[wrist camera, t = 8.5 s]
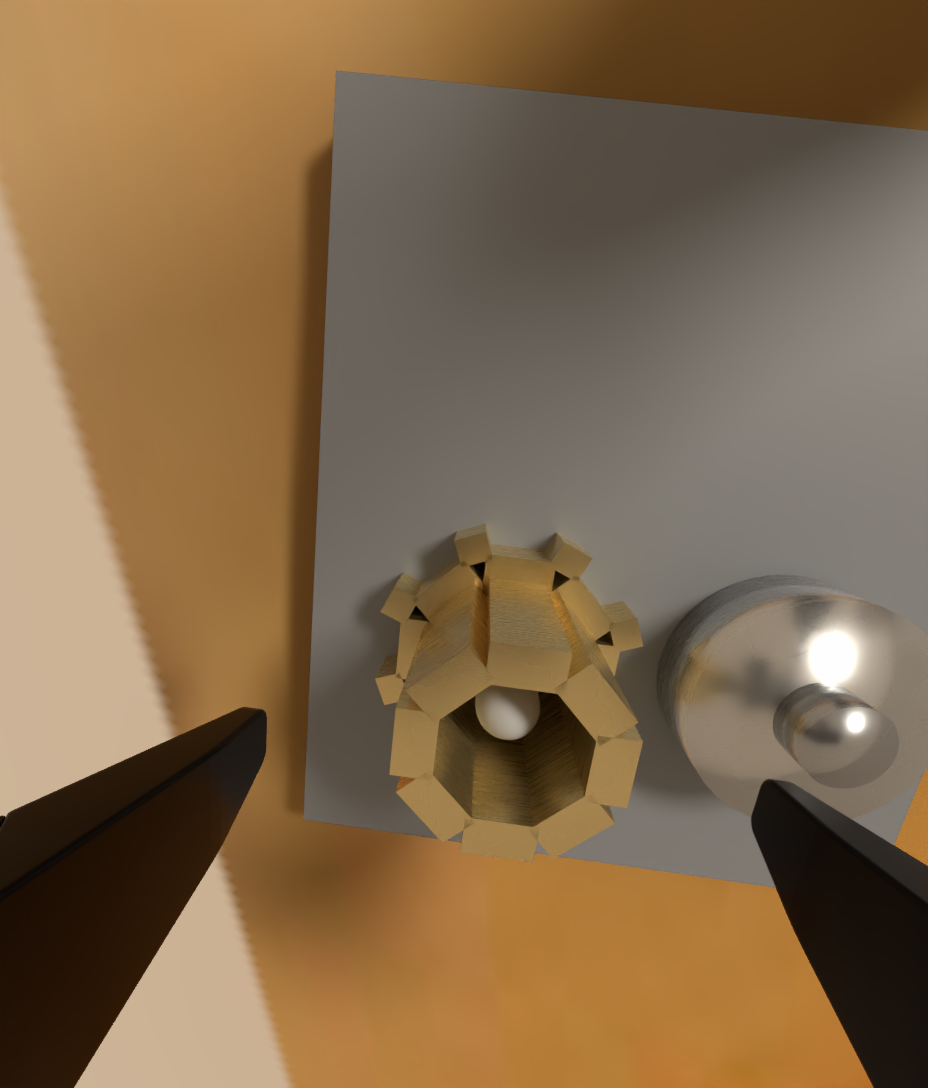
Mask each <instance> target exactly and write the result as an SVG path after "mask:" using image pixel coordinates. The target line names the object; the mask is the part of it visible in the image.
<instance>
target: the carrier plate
mask: <svg viewBox="0 0 928 1088" xmlns="http://www.w3.org/2000/svg"><path fill="white" fill-rule="evenodd" d="M482 524H486V525H487V529H488V533H489V536H490V540H491V544H495V545H503V546H511V547H519V548H527V549H535V550H543V551H546V549H547V547H548V546H549V544H550V543H551V541H552V539H553V538H554V536H555V535H556V533H559V534H561V535H562V536H564V537H566V538H568V539H569V540H571V541H573V542H575V543H577V544H578V545H580V546H582V547H583V548H584V549H585V550H586V551H587V553H588V554H589V555H590V556H591V557H592V558H593V559H592V560H591V562H590V563H589V565H588V566H587V568H586V569H585V571H584V572H583V574H582V575H581V577H580V578H581V579H582V581H583V582H584V583H585V585H586V586H587V587H588V588H589V590H590V591H591V592H592V594H593V595H594V596H595V598H596V599H597V600H598V602H599V603H600V604H601V605H602V606H603V605H607V604H611V603H615V602H620V601H624V602H625V604H626V605H627V606H628V607H629V608H630V610H631V611H632V612H633V613H634V614H635V616H636V617H637V620H638V625H639V629H640V634H641V639H642V643H643V647H638V648H634V649H630V650H625V651H621V652H620V653H619V658H618V663H617V667H616V672H615V679H616V681H617V682H618V684H619V686H620V688H621V690H622V692H623V694H624V696H625V698H626V699H627V701H628V703H629V705H630V707H631V709H632V711H633V713H634V715H635V716H636V718H637V720H638V722H639V723H637V724H636V725H635V727H636V729H637V731H638V733H639V735H640V737H641V739H642V741H643V744H642V748H641V752H640V757H639V761H638V765H637V769H636V773H635V777H634V782H633V786H632V790H631V794H630V798H629V802H628V807H627V808H622V807H615V806H610V809H611V812H612V815H613V818H614V821H615V824H613V825H611V826H610V827H608V828H606V829H604V830H603V831H601V832H599V833H597V834H596V835H594V836H592V837H590V838H589V839H587V840H585V841H583V842H582V843H580V844H578V845H576V846H575V847H573V848H571V849H569V850H568V851H566V852H564V853H562V854H561V855H559V856H560V857H567V858H574V859H581V860H588V861H595V862H602V863H609V864H615V865H622V866H629V867H636V868H643V869H650V870H657V871H664V872H671V873H678V874H685V875H692V876H699V877H706V878H713V879H720V880H727V881H734V882H741V883H748V884H754V885H761V886H768V887H775V885H774V882H773V880H772V877H771V875H770V873H769V870H768V868H767V865H766V863H765V861H764V858H763V856H762V853H761V851H760V848H759V846H758V844H757V841H756V839H755V836H754V834H753V831H752V827H751V817H749V816H747V815H745V814H742V813H740V812H738V811H736V810H735V809H733V808H732V807H730V806H729V805H727V804H725V803H724V802H723V801H722V800H721V799H719V798H718V797H717V796H716V795H715V794H714V793H713V792H712V791H711V790H710V789H709V788H708V787H707V786H706V784H705V783H704V782H703V780H702V779H701V777H700V776H699V774H698V773H697V771H696V769H695V768H694V766H693V765H692V763H691V761H690V760H689V758H688V757H687V755H686V753H685V752H684V750H683V749H682V747H681V745H680V744H679V742H678V741H677V739H676V737H675V736H674V734H673V733H672V731H671V729H670V728H669V726H668V725H667V723H666V721H665V719H664V717H663V714H662V712H661V709H660V705H659V702H658V696H657V689H656V687H657V671H658V665H659V661H660V658H661V655H662V651H663V649H664V647H665V645H666V643H667V641H668V638H669V637H670V635H671V634H672V632H673V631H674V629H675V628H676V626H677V625H678V624H679V623H680V621H681V620H682V619H683V618H684V617H685V615H686V614H688V613H689V612H690V611H691V610H692V609H693V608H694V607H695V606H696V605H697V604H699V603H700V602H701V601H703V600H704V599H706V598H707V597H708V596H710V595H712V594H713V593H715V592H717V591H719V590H720V589H722V588H725V587H727V586H729V585H732V584H734V583H737V582H740V581H743V580H747V579H750V578H755V577H760V576H766V575H797V576H802V577H807V578H812V579H815V580H818V581H821V582H824V583H827V584H829V585H832V586H834V587H836V588H839V589H841V590H843V591H846V592H848V593H850V594H853V595H855V596H857V597H860V598H862V599H864V600H867V601H869V602H871V603H874V604H876V605H879V606H881V607H883V608H886V609H888V610H890V611H892V612H894V613H896V614H898V615H900V616H902V617H905V618H906V619H908V620H909V621H911V622H912V623H914V624H915V625H916V626H918V627H919V628H920V629H921V630H923V631H924V632H925V633H926V634H927V635H928V131H927V130H917V129H907V128H897V127H887V126H878V125H868V124H858V123H848V122H838V121H828V120H818V119H809V118H799V117H789V116H779V115H769V114H759V113H750V112H740V111H730V110H720V109H710V108H700V107H691V106H681V105H671V104H661V103H651V102H641V101H631V100H622V99H612V98H602V97H592V96H582V95H572V94H563V93H553V92H543V91H533V90H523V89H513V88H503V87H494V86H484V85H474V84H464V83H454V82H444V81H435V80H425V79H415V78H405V77H395V76H385V75H376V74H366V73H356V72H346V71H336V87H335V110H334V133H333V156H332V179H331V202H330V225H329V247H328V270H327V293H326V316H325V339H324V362H323V385H322V408H321V430H320V453H319V476H318V499H317V522H316V545H315V568H314V590H313V613H312V636H311V659H310V682H309V705H308V728H307V751H306V773H305V796H304V819H303V820H310V821H317V822H324V823H330V824H337V825H344V826H351V827H358V828H365V829H372V830H379V831H386V832H393V833H400V834H407V835H414V836H421V837H428V838H435V839H438V837H437V836H436V835H435V834H434V833H433V832H432V831H431V830H430V829H429V828H428V827H427V826H426V824H425V823H424V822H423V821H422V820H421V819H420V818H419V817H418V816H417V815H416V814H415V813H414V811H413V810H412V809H411V808H410V807H409V806H408V805H407V804H406V803H405V802H404V801H403V800H402V798H401V797H400V796H399V795H398V794H397V793H396V789H397V785H398V782H399V778H400V776H395V775H389V773H390V763H391V752H392V741H393V731H394V720H395V709H396V705H397V703H398V702H396V703H391V704H387V705H384V703H383V700H382V697H381V694H380V691H379V689H378V686H377V683H376V680H375V678H376V676H377V674H378V672H379V669H380V667H381V665H382V663H383V661H384V659H385V657H390V656H394V655H398V646H399V635H400V625H401V623H400V622H398V621H397V620H395V619H393V618H391V617H389V616H387V615H386V614H384V613H382V612H381V610H382V608H383V606H384V604H385V603H386V601H387V599H388V597H389V595H390V594H391V592H392V590H393V588H394V586H395V585H396V583H397V582H398V580H399V578H400V577H401V575H402V574H403V572H404V573H406V574H408V575H409V576H411V577H413V578H415V579H417V580H418V581H420V582H423V581H425V580H426V579H427V578H429V577H430V576H431V575H433V574H434V573H435V572H437V571H438V570H439V569H441V568H442V567H443V566H444V565H446V564H447V563H448V562H450V561H451V560H452V559H454V558H455V557H456V556H458V553H457V550H456V546H455V543H454V539H455V536H456V533H457V531H459V530H463V529H467V528H471V527H474V526H478V525H482ZM484 563H485V562H481V563H478V564H479V565H480V566H481V567H482V569H483V570H484ZM555 571H556V570H555ZM475 707H476V714H477V717H478V719H479V721H480V723H481V725H482V726H483V728H484V729H485V730H486V731H487V732H488V733H490V734H491V735H493V736H494V737H496V738H499V739H503V740H515V739H518V738H521V737H523V736H525V735H526V734H528V733H529V732H530V731H531V730H532V729H533V727H534V726H535V724H536V723H537V720H538V717H539V714H540V700H539V695H538V691H533V690H525V689H518V688H510V687H503V686H496V685H490V686H489V687H487V688H486V689H484V690H483V691H481V692H480V693H478V694H477V695H476V700H475ZM922 775H923V774H922ZM921 778H922V776H921V777H920V778H919V779H918V780H917V781H916V782H915V783H913V784H912V785H911V786H910V787H909V788H908V789H907V790H906V791H904V792H903V793H902V794H900V795H899V796H897V797H896V798H895V799H893V800H892V801H890V802H888V803H887V804H885V805H883V806H881V807H880V808H878V809H876V810H873V811H871V812H869V813H867V814H865V815H862V816H859V817H856V818H853V819H852V820H854V821H855V822H857V823H859V824H860V825H862V826H863V827H865V828H867V829H868V830H870V831H872V832H873V833H875V834H876V835H878V836H880V837H881V838H883V839H885V840H886V841H888V842H889V843H891V844H893V845H894V843H895V841H896V838H897V836H898V834H899V831H900V829H901V826H902V824H903V821H904V819H905V817H906V814H907V812H908V809H909V807H910V804H911V802H912V799H913V797H914V795H915V792H916V790H917V787H918V785H919V782H920V780H921ZM461 835H462V831H461V832H460V833H458V834H456V835H455V836H453V837H451V838H450V839H448V840H449V841H456V842H461ZM535 853H539V854H546V855H549V854H548V853H547V851H546V850H545V849H544V848H543V847H542V846H541V845H540V843H539V842H538V841H537V844H536V849H535ZM775 888H776V887H775Z"/></svg>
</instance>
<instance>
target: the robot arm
mask: <svg viewBox="0 0 928 1088" xmlns="http://www.w3.org/2000/svg"><path fill="white" fill-rule="evenodd" d="M266 734H267V716H266V712H265V711H264V710H262V709H256V708H249V707H242V708H239V709H237V710H234V711H232V712H230V713H228V714H226V715H223V716H221V717H219V718H217V719H215V720H212V721H210V722H208V723H206V724H203V725H201V726H199V727H197V728H195V729H192V730H190V731H188V732H186V733H184V734H181V735H179V736H177V737H175V738H172V739H170V740H168V741H166V742H164V743H161V744H159V745H157V746H155V747H152V748H150V749H148V750H146V751H144V752H141V753H139V754H137V755H135V756H132V757H130V758H128V759H126V760H124V761H122V762H119V763H117V764H115V765H113V766H111V767H108V768H106V769H104V770H102V771H99V772H97V773H95V774H93V775H90V776H88V777H86V778H84V779H82V780H79V781H77V782H75V783H73V784H70V785H68V786H66V787H64V788H61V789H59V790H57V791H55V792H53V793H50V794H48V795H46V796H44V797H41V798H40V799H37V800H35V801H33V802H30V803H28V804H26V805H24V806H21V807H19V808H17V809H15V810H13V811H11V812H9V813H8V814H7V816H6V817H5V816H0V1088H74V1087H75V1085H76V1084H77V1082H78V1080H79V1079H80V1077H81V1075H82V1074H83V1072H84V1071H85V1069H86V1067H87V1066H88V1064H89V1062H90V1061H91V1059H92V1057H93V1056H94V1054H95V1052H96V1051H97V1049H98V1048H99V1046H100V1044H101V1043H102V1041H103V1039H104V1038H105V1036H106V1035H107V1033H108V1031H109V1030H110V1028H111V1026H112V1025H113V1023H114V1022H115V1020H116V1018H117V1017H118V1015H119V1013H120V1012H121V1010H122V1009H123V1007H124V1005H125V1004H126V1002H127V1000H128V999H129V997H130V995H131V994H132V992H133V990H134V989H135V987H136V986H137V984H138V982H139V981H140V979H141V978H142V976H143V974H144V973H145V971H146V969H147V968H148V966H149V965H150V963H151V961H152V959H153V958H154V956H155V955H156V953H157V951H158V950H159V948H160V947H161V945H162V943H163V942H164V940H165V938H166V937H167V935H168V934H169V932H170V930H171V928H172V927H173V925H174V924H175V922H176V920H177V919H178V917H179V916H180V914H181V912H182V911H183V909H184V907H185V906H186V904H187V902H188V901H189V899H190V898H191V896H192V894H193V893H194V891H195V890H196V888H197V886H198V885H199V883H200V881H201V880H202V878H203V876H204V875H205V873H206V871H207V870H208V868H209V867H210V865H211V863H212V862H213V860H214V858H215V857H216V855H217V853H218V851H219V850H220V848H221V846H222V844H223V842H224V840H225V838H226V837H227V835H228V833H229V831H230V829H231V826H232V824H233V822H234V820H235V818H236V816H237V814H238V812H239V810H240V808H241V806H242V804H243V802H244V800H245V798H246V796H247V794H248V792H249V790H250V788H251V786H252V784H253V782H254V779H255V777H256V775H257V773H258V771H259V769H260V767H261V765H262V763H263V760H264V757H265V753H266ZM751 827H752V831H753V834H754V836H755V839H756V841H757V844H758V846H759V848H760V851H761V853H762V856H763V858H764V861H765V863H766V865H767V868H768V870H769V873H770V875H771V877H772V880H773V882H774V885H775V887H776V890H777V892H778V894H779V897H780V899H781V902H782V904H783V906H784V909H785V911H786V914H787V916H788V918H789V920H790V923H791V925H792V927H793V929H794V932H795V934H796V936H797V938H798V940H799V942H800V944H801V946H802V948H803V950H804V952H805V954H806V956H807V958H808V960H809V962H810V964H811V966H812V968H813V970H814V972H815V974H816V976H817V978H818V980H819V981H820V983H821V985H822V987H823V989H824V991H825V993H826V995H827V997H828V999H829V1001H830V1003H831V1005H832V1007H833V1009H834V1011H835V1013H836V1015H837V1017H838V1019H839V1021H840V1023H841V1025H842V1027H843V1029H844V1030H845V1032H846V1034H847V1036H848V1038H849V1040H850V1042H851V1044H852V1046H853V1048H854V1050H855V1052H856V1054H857V1056H858V1058H859V1060H860V1062H861V1064H862V1066H863V1068H864V1070H865V1072H866V1074H867V1076H868V1078H869V1079H870V1081H871V1083H872V1085H873V1087H874V1088H928V866H927V865H925V864H923V863H922V862H920V861H919V860H917V859H915V858H914V857H912V856H910V855H909V854H907V853H906V852H904V851H902V850H901V849H899V848H898V847H896V846H894V845H893V844H891V843H889V842H888V841H886V840H885V839H883V838H881V837H880V836H878V835H876V834H875V833H873V832H872V831H870V830H868V829H867V828H865V827H863V826H862V825H860V824H859V823H857V822H855V821H854V820H852V819H851V818H849V817H847V816H846V815H844V814H842V813H841V812H839V811H838V810H836V809H834V808H833V807H831V806H829V805H828V804H826V803H825V802H823V801H821V800H820V799H818V798H816V797H815V796H813V795H812V794H810V793H808V792H807V791H805V790H804V789H802V788H800V787H799V786H797V785H795V784H794V783H791V782H788V781H781V780H774V779H767V780H765V781H764V782H763V783H762V784H761V787H760V790H759V793H758V796H757V799H756V802H755V806H754V809H753V812H752V816H751Z"/></svg>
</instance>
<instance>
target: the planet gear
mask: <svg viewBox="0 0 928 1088" xmlns="http://www.w3.org/2000/svg"><path fill="white" fill-rule="evenodd" d="M454 543H455V546H456V550H457V553H458V556H456V557H455V558H454V559H452V560H451V561H450V562H448V563H447V564H446V565H444V566H443V567H442V568H441V569H439V570H438V571H437V572H435V573H434V574H433V575H431V576H430V577H429V578H427V579H426V580H425V581H423V582H420V581H418V580H417V579H415V578H413V577H411V576H409V575H408V574H406V573H404V572H403V574H402V575H401V577H400V578H399V580H398V582H397V583H396V585H395V586H394V588H393V590H392V592H391V594H390V595H389V597H388V599H387V601H386V603H385V604H384V606H383V608H382V610H381V612H382V613H384V614H386V615H387V616H389V617H391V618H393V619H395V620H397V621H398V622H400V623H401V625H400V635H399V646H398V655H394V656H390V657H385V659H384V661H383V663H382V665H381V667H380V669H379V672H378V674H377V676H376V678H375V680H376V683H377V686H378V689H379V691H380V694H381V697H382V700H383V703H384V705H387V704H391V703H396V702H398V703H397V705H396V709H395V720H394V731H393V741H392V752H391V763H390V773H389V775H395V776H400V778H399V782H398V785H397V789H396V793H397V794H398V795H399V796H400V797H401V798H402V800H403V801H404V802H405V803H406V804H407V805H408V806H409V807H410V808H411V809H412V810H413V811H414V813H415V814H416V815H417V816H418V817H419V818H420V819H421V820H422V821H423V822H424V823H425V824H426V826H427V827H428V828H429V829H430V830H431V831H432V832H433V833H434V834H435V835H436V836H437V837H438V839H439V840H440V841H441V842H442V843H443V842H445V841H447V840H448V839H450V838H451V837H453V836H455V835H456V834H458V833H460V832H461V831H462V835H461V850H460V852H464V853H471V854H478V855H485V856H492V857H498V858H505V859H512V860H519V861H526V862H533V860H534V854H535V849H536V844H537V841H538V842H539V843H540V845H541V846H542V847H543V848H544V849H545V850H546V851H547V853H548V854H549V855H550V856H551V857H552V858H553V859H554V858H555V857H557V856H559V855H561V854H562V853H564V852H566V851H568V850H569V849H571V848H573V847H575V846H576V845H578V844H580V843H582V842H583V841H585V840H587V839H589V838H590V837H592V836H594V835H596V834H597V833H599V832H601V831H603V830H604V829H606V828H608V827H610V826H611V825H613V824H615V821H614V818H613V815H612V812H611V809H610V806H615V807H622V808H627V807H628V802H629V798H630V794H631V790H632V786H633V782H634V777H635V773H636V769H637V765H638V761H639V757H640V752H641V748H642V744H643V741H642V739H641V737H640V735H639V733H638V731H637V729H636V727H635V725H636V724H637V723H639V722H638V720H637V718H636V716H635V715H634V713H633V711H632V709H631V707H630V705H629V703H628V701H627V699H626V698H625V696H624V694H623V692H622V690H621V688H620V686H619V684H618V682H617V681H616V679H615V672H616V667H617V663H618V658H619V653H620V652H621V651H625V650H630V649H634V648H638V647H643V643H642V639H641V634H640V629H639V625H638V620H637V617H636V616H635V614H634V613H633V612H632V611H631V610H630V608H629V607H628V606H627V605H626V604H625V602H624V601H620V602H615V603H611V604H607V605H603V606H602V605H601V604H600V603H599V602H598V600H597V599H596V598H595V596H594V595H593V594H592V592H591V591H590V590H589V588H588V587H587V586H586V585H585V583H584V582H583V581H582V579H581V578H580V577H581V575H582V574H583V572H584V571H585V569H586V568H587V566H588V565H589V563H590V562H591V560H592V559H593V558H592V557H591V556H590V555H589V554H588V553H587V551H586V550H585V549H584V548H583V547H582V546H580V545H578V544H577V543H575V542H573V541H571V540H569V539H568V538H566V537H564V536H562V535H561V534H559V533H556V535H555V536H554V538H553V539H552V541H551V543H550V544H549V546H548V547H547V549H546V551H543V550H535V549H527V548H519V547H511V546H503V545H495V544H491V540H490V536H489V533H488V529H487V525H486V524H482V525H478V526H474V527H471V528H467V529H463V530H459V531H457V533H456V536H455V539H454ZM481 562H485V563H484V570H483V569H482V567H481V566H480V565H479V564H478V563H481ZM555 570H556V571H555ZM490 685H496V686H503V687H510V688H518V689H525V690H533V691H538V695H539V700H540V714H539V717H538V720H537V723H536V724H535V726H534V727H533V729H532V730H531V731H530V732H529V733H528V734H526V735H525V736H523V737H521V738H518V739H515V740H503V739H499V738H496V737H494V736H493V735H491V734H490V733H488V732H487V731H486V730H485V729H484V728H483V726H482V725H481V723H480V721H479V719H478V717H477V714H476V707H475V700H476V695H477V694H478V693H480V692H481V691H483V690H484V689H486V688H487V687H489V686H490Z"/></svg>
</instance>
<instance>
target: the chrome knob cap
mask: <svg viewBox="0 0 928 1088" xmlns="http://www.w3.org/2000/svg"><path fill="white" fill-rule="evenodd" d="M656 689H657V696H658V702H659V705H660V709H661V712H662V714H663V717H664V719H665V721H666V723H667V725H668V726H669V728H670V729H671V731H672V733H673V734H674V736H675V737H676V739H677V741H678V742H679V744H680V745H681V747H682V749H683V750H684V752H685V753H686V755H687V757H688V758H689V760H690V761H691V763H692V765H693V766H694V768H695V769H696V771H697V773H698V774H699V776H700V777H701V779H702V780H703V782H704V783H705V784H706V786H707V787H708V788H709V789H710V790H711V791H712V792H713V793H714V794H715V795H716V796H717V797H718V798H719V799H721V800H722V801H723V802H724V803H725V804H727V805H729V806H730V807H732V808H733V809H735V810H736V811H738V812H740V813H742V814H745V815H747V816H749V817H751V816H752V812H753V809H754V806H755V802H756V799H757V796H758V793H759V790H760V787H761V784H762V783H763V782H764V781H765V780H767V779H774V780H781V781H788V782H791V783H794V784H795V785H797V786H799V787H800V788H802V789H804V790H805V791H807V792H808V793H810V794H812V795H813V796H815V797H816V798H818V799H820V800H821V801H823V802H825V803H826V804H828V805H829V806H831V807H833V808H834V809H836V810H838V811H839V812H841V813H842V814H844V815H846V816H847V817H849V818H851V819H853V818H856V817H859V816H862V815H865V814H867V813H869V812H871V811H873V810H876V809H878V808H880V807H881V806H883V805H885V804H887V803H888V802H890V801H892V800H893V799H895V798H896V797H897V796H899V795H900V794H902V793H903V792H904V791H906V790H907V789H908V788H909V787H910V786H911V785H912V784H913V783H915V782H916V781H917V780H918V779H919V778H920V777H921V776H922V774H923V773H924V772H925V771H926V770H927V769H928V635H927V634H926V633H925V632H924V631H923V630H921V629H920V628H919V627H918V626H916V625H915V624H914V623H912V622H911V621H909V620H908V619H906V618H905V617H902V616H900V615H898V614H896V613H894V612H892V611H890V610H888V609H886V608H883V607H881V606H879V605H876V604H874V603H871V602H869V601H867V600H864V599H862V598H860V597H857V596H855V595H853V594H850V593H848V592H846V591H843V590H841V589H839V588H836V587H834V586H832V585H829V584H827V583H824V582H821V581H818V580H815V579H812V578H807V577H802V576H797V575H766V576H760V577H755V578H750V579H747V580H743V581H740V582H737V583H734V584H732V585H729V586H727V587H725V588H722V589H720V590H719V591H717V592H715V593H713V594H712V595H710V596H708V597H707V598H706V599H704V600H703V601H701V602H700V603H699V604H697V605H696V606H695V607H694V608H693V609H692V610H691V611H690V612H689V613H688V614H686V615H685V617H684V618H683V619H682V620H681V621H680V623H679V624H678V625H677V626H676V628H675V629H674V631H673V632H672V634H671V635H670V637H669V638H668V641H667V643H666V645H665V647H664V649H663V651H662V655H661V658H660V661H659V665H658V671H657V687H656Z"/></svg>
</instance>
